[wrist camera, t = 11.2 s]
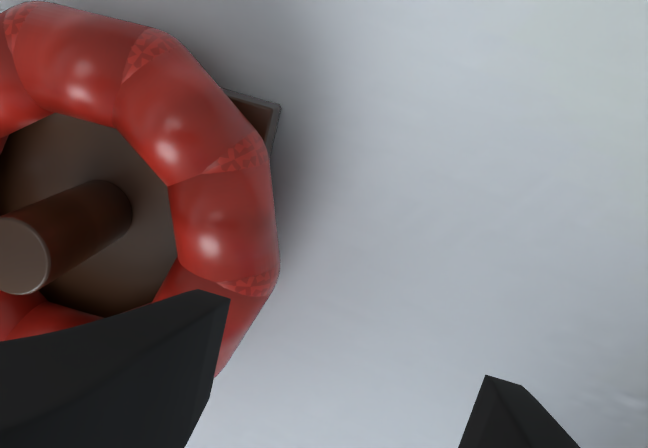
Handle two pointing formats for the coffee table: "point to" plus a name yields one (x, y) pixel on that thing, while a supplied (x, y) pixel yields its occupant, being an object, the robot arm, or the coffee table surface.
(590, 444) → the coffee table surface
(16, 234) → the post
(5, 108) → the ring
